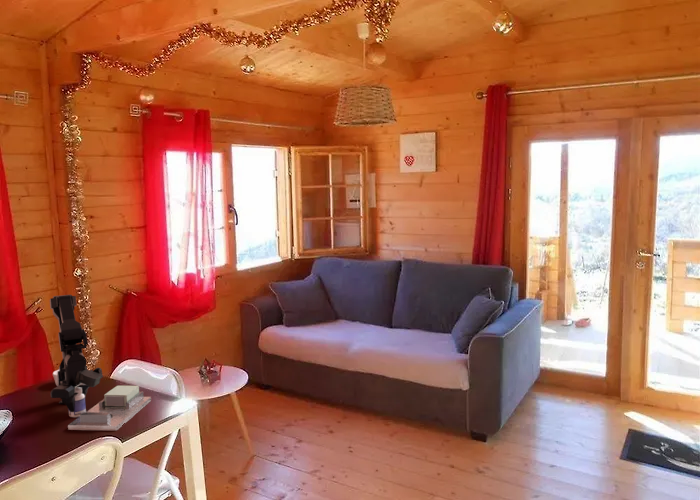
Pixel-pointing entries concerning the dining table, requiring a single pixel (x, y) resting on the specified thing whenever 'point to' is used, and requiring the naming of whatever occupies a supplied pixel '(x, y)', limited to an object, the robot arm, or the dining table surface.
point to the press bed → (115, 420)
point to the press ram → (120, 395)
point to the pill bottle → (78, 403)
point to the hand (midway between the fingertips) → (77, 408)
